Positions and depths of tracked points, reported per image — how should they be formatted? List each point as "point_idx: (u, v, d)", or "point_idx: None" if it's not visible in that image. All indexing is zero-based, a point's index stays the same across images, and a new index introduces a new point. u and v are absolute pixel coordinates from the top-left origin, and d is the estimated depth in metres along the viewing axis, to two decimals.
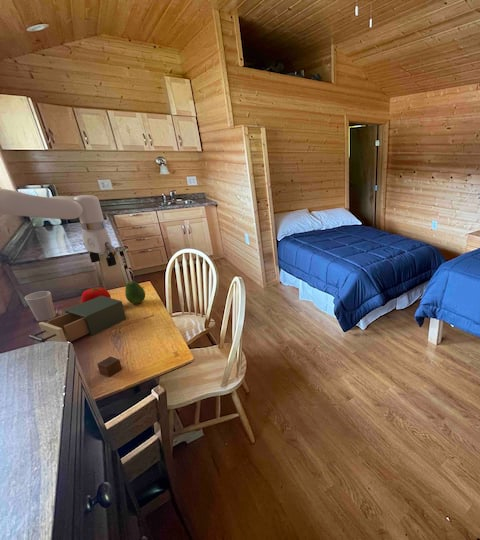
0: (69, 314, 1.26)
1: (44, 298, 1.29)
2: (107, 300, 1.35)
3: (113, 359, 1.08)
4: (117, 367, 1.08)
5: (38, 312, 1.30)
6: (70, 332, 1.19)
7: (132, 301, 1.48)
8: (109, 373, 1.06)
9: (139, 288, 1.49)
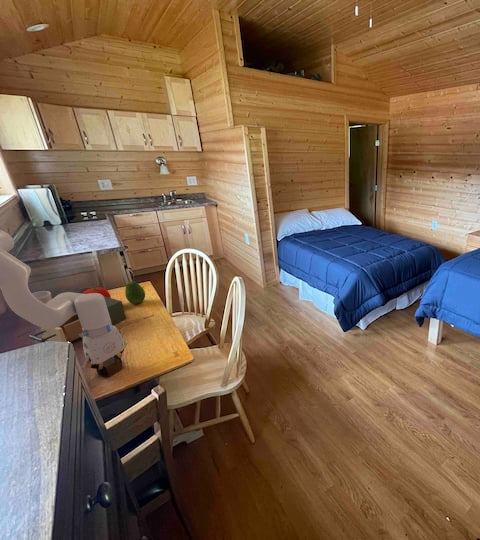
0: None
1: (44, 298, 1.29)
2: (107, 300, 1.35)
3: (113, 359, 1.08)
4: (117, 367, 1.08)
5: None
6: (70, 332, 1.19)
7: (132, 301, 1.48)
8: (109, 373, 1.06)
9: (139, 288, 1.49)
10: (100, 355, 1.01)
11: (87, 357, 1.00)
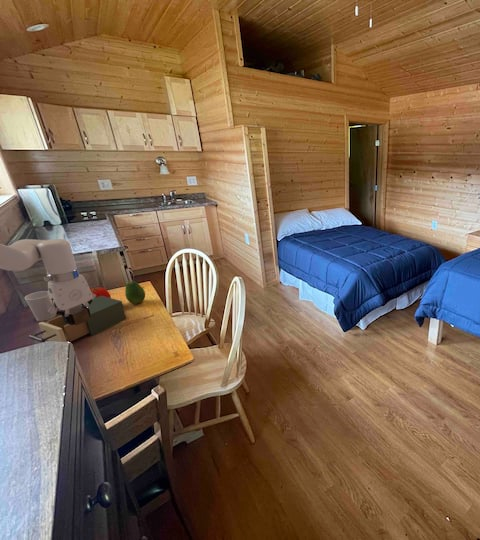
0: None
1: (44, 298, 1.29)
2: (107, 300, 1.35)
3: (81, 308, 1.09)
4: (84, 316, 1.09)
5: (38, 312, 1.30)
6: (70, 332, 1.19)
7: (132, 301, 1.48)
8: (76, 321, 1.07)
9: (139, 288, 1.49)
10: (65, 301, 1.02)
11: (52, 302, 1.01)
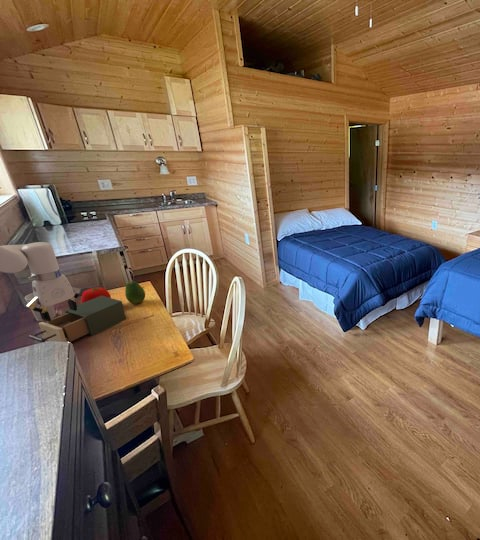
0: (69, 314, 1.26)
1: None
2: (107, 300, 1.35)
3: None
4: None
5: (38, 312, 1.30)
6: (70, 332, 1.19)
7: (132, 301, 1.48)
8: (65, 334, 1.20)
9: (139, 288, 1.49)
10: (49, 298, 1.12)
11: (34, 298, 1.11)
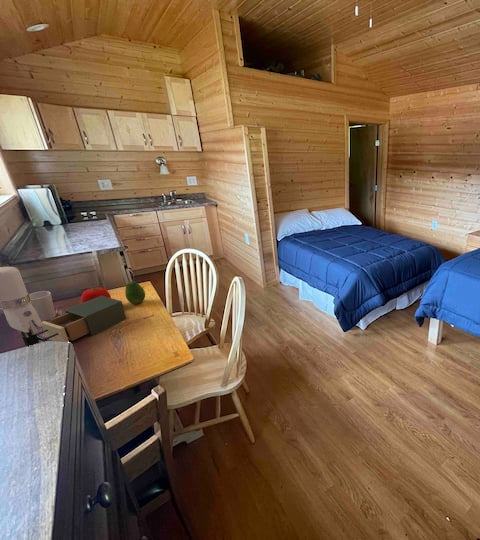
0: None
1: (44, 298, 1.29)
2: (107, 300, 1.35)
3: (71, 322, 1.23)
4: None
5: (38, 312, 1.30)
6: (71, 331, 1.20)
7: (132, 301, 1.48)
8: (67, 334, 1.21)
9: (139, 288, 1.49)
10: None
11: (31, 325, 1.07)
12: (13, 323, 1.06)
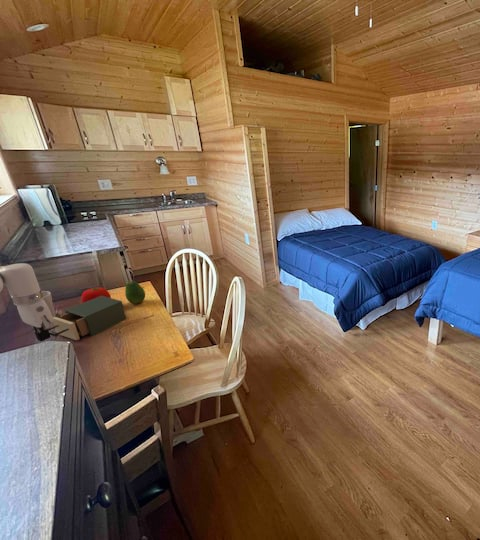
0: None
1: (44, 298, 1.29)
2: (107, 300, 1.35)
3: None
4: None
5: None
6: (81, 327, 1.23)
7: (132, 301, 1.48)
8: (77, 329, 1.24)
9: (139, 288, 1.49)
10: None
11: (44, 320, 1.11)
12: (26, 318, 1.09)
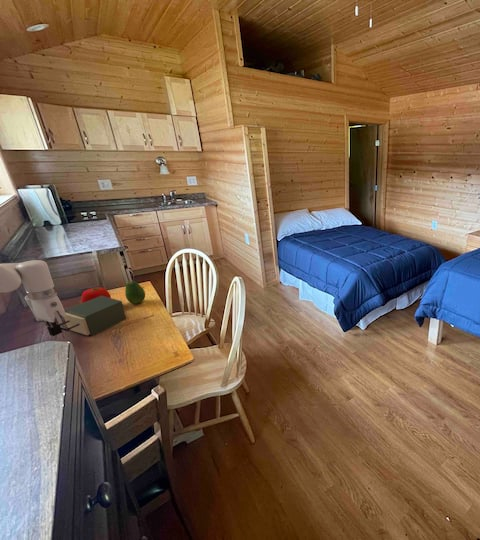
0: None
1: None
2: (107, 300, 1.35)
3: None
4: None
5: None
6: None
7: (132, 301, 1.48)
8: None
9: (139, 288, 1.49)
10: None
11: (57, 315, 1.14)
12: (40, 313, 1.13)
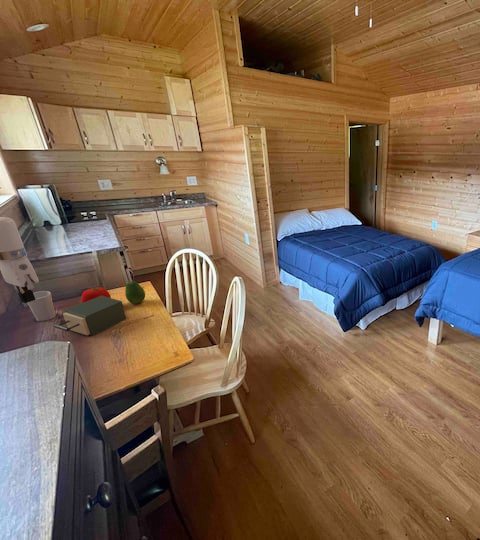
0: None
1: (44, 298, 1.29)
2: (107, 300, 1.35)
3: None
4: None
5: (38, 312, 1.30)
6: None
7: (132, 301, 1.48)
8: None
9: (139, 288, 1.49)
10: None
11: (27, 279, 1.04)
12: (8, 277, 1.03)
